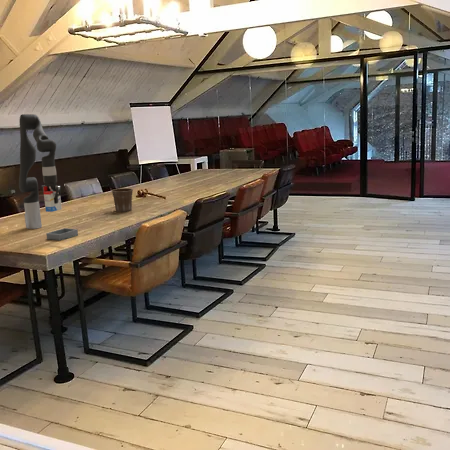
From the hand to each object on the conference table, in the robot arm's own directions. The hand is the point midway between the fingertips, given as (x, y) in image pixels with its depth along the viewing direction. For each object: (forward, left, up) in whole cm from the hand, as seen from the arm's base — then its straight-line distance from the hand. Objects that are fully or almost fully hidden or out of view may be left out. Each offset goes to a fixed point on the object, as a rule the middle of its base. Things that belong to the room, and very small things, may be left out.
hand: (52, 203), depth 287 cm
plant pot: (-19, +86, -22) cm, 91 cm away
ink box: (0, 0, -5) cm, 5 cm away
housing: (+2, +3, -21) cm, 22 cm away
